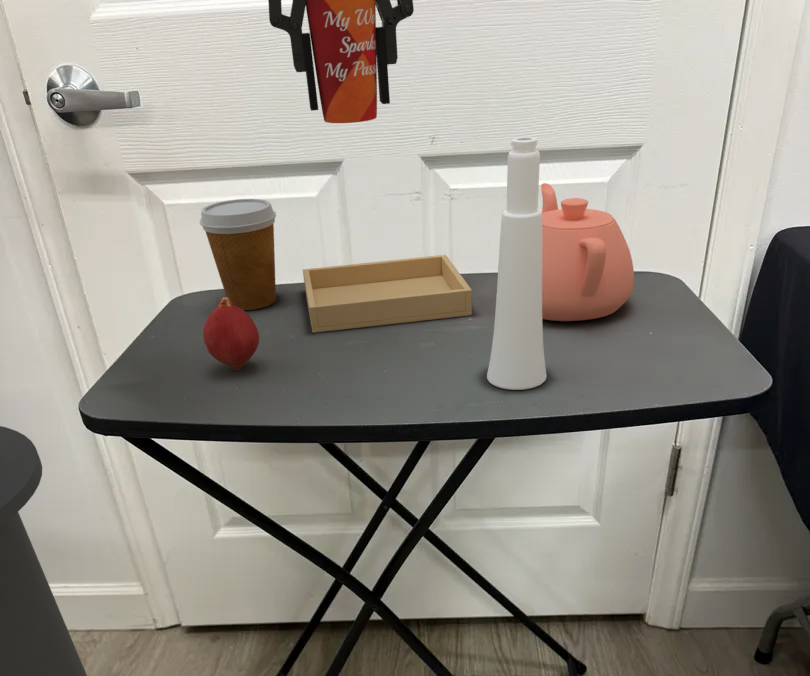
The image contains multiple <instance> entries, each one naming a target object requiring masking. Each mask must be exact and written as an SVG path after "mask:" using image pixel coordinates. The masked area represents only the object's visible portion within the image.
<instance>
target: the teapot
mask: <svg viewBox="0 0 810 676" xmlns="http://www.w3.org/2000/svg"><path fill="white" fill-rule="evenodd" d="M540 191H541V195H542V208H541V211H542V320H545V321H546V320H547V321H553V322H554V321H555V322H556V321H557V322H558V321H559V322H575V321H577V322H578V321H587V320H594V319H599V318H604V317H607V316H609V315H612V314H614V313H615V312H616V311H618V310H619V309H620V308H621V307H622V306H623V305H624V304H625V303H626V302H627V300H629V298H630V297H631V296H632V294H633V292H634V287H635V271H634V264H633V258H632V254H631V251H630V248H629V245H628V242H627V241H626V240H627V239H625V236H624V234H623V232H622V230H621V228H620V225H619V224H618V222H617V220H616V219H615V217H614V216H613V215H612V214H610V213H608V212H606V211H603V210H599V209H593V208H588V205H589V200H588V199H585V198H579V197H573V198H571V197H570V198H564V199H563V200H561V201H560V207H561V208H560V209H559V205H558V200H557V195H556V190H555V189H554V188H553V186H552V185H551V184H549V183H547V182H546V183H545V182H543V183H541V185H540Z"/></svg>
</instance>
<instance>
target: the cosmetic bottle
mask: <svg viewBox="0 0 810 676" xmlns="http://www.w3.org/2000/svg"><path fill="white" fill-rule="evenodd" d="M510 142H511V143H510V146H511V147H512V149H511V150H510V151H509V152H508V154H507V169H506V170H507V172H506V173H507V174H506V209H505V210H503V211H502V213H501V219H500V220H501V221H500V233H499V234H500V235H499V246H498V247H499V249H498V265H497V282H496V297H495V314H494V325H493V335H492V344H491V351H490V357H489V364H488V369H487V374H486V379H487V381H488V383H490V384H491V385H492V386H494V387H496V388H499V389H502V390H503V389H504V390H510V391H523V390H530V389H534V388H536V387H539V386H541V385H542V384H543V383H545V382H546V380H547V377H548V376H547V367H546V361H545V351H544V333H543V319H542V209H539V208H538V207H539V187H540V185H539V184H540V163H541V154H540V151H539V150H538V149H536V146H537V145H538V138H536V137H533V136H520V137H514V138H513V139H511V140H510Z"/></svg>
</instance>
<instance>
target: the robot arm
mask: <svg viewBox="0 0 810 676" xmlns="http://www.w3.org/2000/svg"><path fill="white" fill-rule="evenodd" d="M267 1H268V16H269V17H268V18H269V19H268V20H269V24H270V25H271V27H273V28H275V29H279V30H281V31H284V32H286V33H287V34H288V35H289V39H290V47H291V48H290V49H291V55H292V63H293V68H294V70H295V72H296V73H305V76H306V85H307V93H308V102H309V108H310V111H319V102H318V95H317V94H318V93H317V84H316V76H315V75H316V74H315V65H314V56H313V50H312V43H311V37H310V32H303V25H304V17H305V12H306V1H307V0H292V2H291V3H292V4H291V9H290V16H289V15H286V14H283V10H282V8H283V7H282V0H267ZM396 3H397V4H396V5H395V6H393V5H392V3H391V0H375V7H376V11H377V13H378V15H379V19H380V20H381V26H376V62H377V85H378V93H379V94H378V95H379V96H378V97H379V102H380V103H381V104H382V105H389V104H391V98H390V85H389V84H390V83H389V68H388V67H389V65H397V62H398V42H397V41H398V40H397V26H398V24H399V23H400V22H401V21H403V20H405V19H407V18H409V17H411V16H412V15H414V10H415V8H414V0H396Z"/></svg>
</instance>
